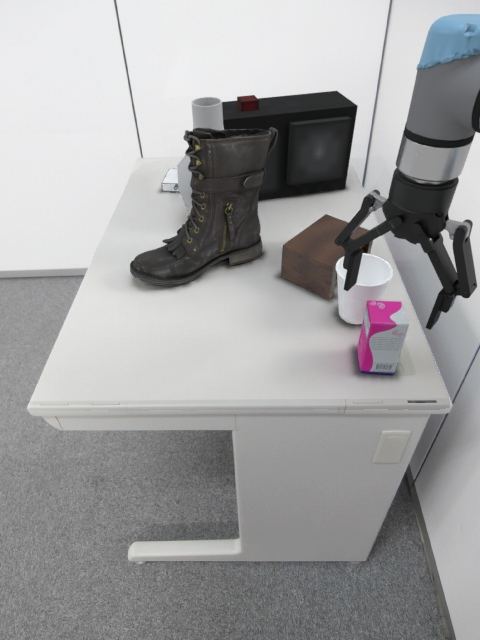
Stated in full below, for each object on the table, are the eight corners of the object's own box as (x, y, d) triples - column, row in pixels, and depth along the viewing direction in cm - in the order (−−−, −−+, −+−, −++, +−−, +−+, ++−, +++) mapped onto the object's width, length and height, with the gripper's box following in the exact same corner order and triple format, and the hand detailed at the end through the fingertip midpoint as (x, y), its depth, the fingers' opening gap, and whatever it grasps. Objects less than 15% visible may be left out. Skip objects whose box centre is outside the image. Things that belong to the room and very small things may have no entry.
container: (174, 168, 135) (173, 160, 134) (210, 169, 134) (210, 161, 132) (157, 200, 121) (156, 191, 119) (198, 201, 120) (197, 192, 118)
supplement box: (389, 349, 78) (404, 300, 70) (394, 375, 74) (410, 325, 66) (355, 347, 78) (367, 298, 71) (359, 373, 74) (371, 323, 66)
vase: (250, 232, 107) (250, 112, 88) (183, 238, 106) (168, 117, 87) (242, 200, 119) (240, 88, 100) (181, 205, 118) (167, 92, 99)
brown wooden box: (368, 263, 97) (374, 232, 92) (328, 299, 88) (333, 267, 83) (322, 244, 103) (325, 213, 97) (280, 276, 94) (282, 245, 89)
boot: (125, 269, 97) (92, 136, 78) (257, 230, 108) (258, 104, 88) (141, 298, 90) (109, 159, 70) (281, 254, 100) (288, 121, 81)
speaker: (348, 192, 122) (363, 98, 105) (224, 209, 116) (219, 113, 100) (327, 169, 132) (337, 81, 116) (213, 184, 127) (207, 94, 111)
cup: (386, 332, 81) (399, 285, 74) (332, 333, 81) (340, 286, 74) (374, 298, 88) (386, 252, 81) (325, 298, 88) (331, 252, 81)
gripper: (549, 190, 49) (480, 327, 63) (351, 137, 61) (332, 262, 75) (529, 217, 45) (460, 357, 59) (321, 154, 57) (307, 283, 71)
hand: (388, 304), depth 67 cm, fingers open, 13 cm apart
